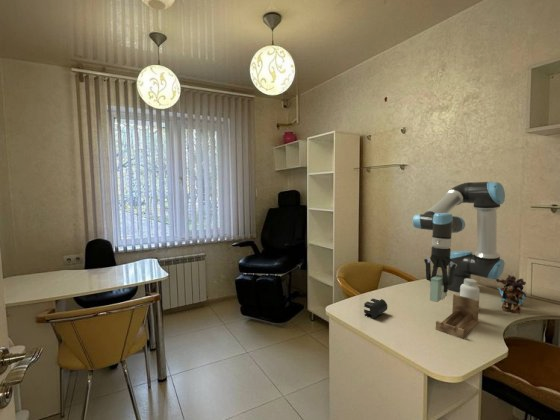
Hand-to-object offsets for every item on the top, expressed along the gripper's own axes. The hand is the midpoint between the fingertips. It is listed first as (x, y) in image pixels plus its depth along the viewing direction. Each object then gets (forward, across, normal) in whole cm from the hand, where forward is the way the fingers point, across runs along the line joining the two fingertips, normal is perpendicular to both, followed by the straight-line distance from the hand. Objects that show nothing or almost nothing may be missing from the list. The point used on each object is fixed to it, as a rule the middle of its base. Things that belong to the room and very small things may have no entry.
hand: (438, 297), depth 127 cm
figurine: (+10, +20, +38) cm, 44 cm away
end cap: (+11, -21, -18) cm, 29 cm away
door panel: (0, 0, 0) cm, 0 cm away
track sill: (+10, +8, 0) cm, 13 cm away
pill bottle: (+10, +6, +24) cm, 27 cm away
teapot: (+10, +18, +50) cm, 54 cm away
